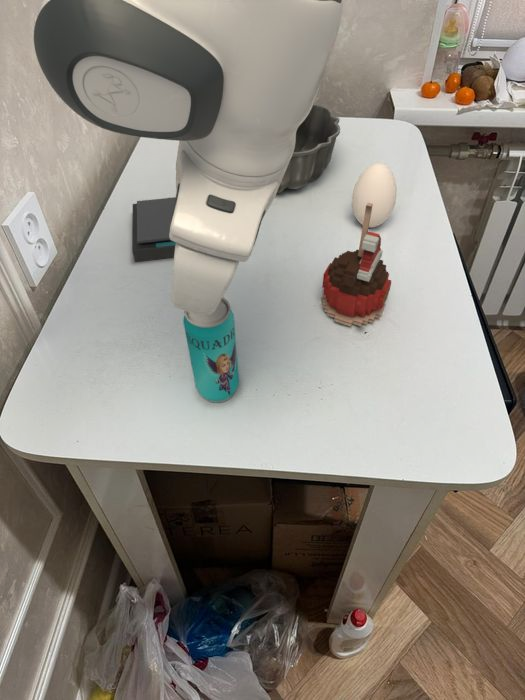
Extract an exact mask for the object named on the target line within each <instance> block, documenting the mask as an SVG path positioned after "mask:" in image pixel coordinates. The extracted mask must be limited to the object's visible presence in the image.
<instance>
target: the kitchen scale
mask: <svg viewBox="0 0 525 700" xmlns="http://www.w3.org/2000/svg"><path fill="white" fill-rule="evenodd" d="M175 199H176V196H174V197H173V196H172V197H164V198H155V199H145V200H136V203H132V227H131V228H132V229H131V230H132V231H131V232H132V233H131V234H132V237H131V238H132V239H131V240H132V241H131V242H132V245H131V246H132V247H131V248H132V249H131V251H132V255H133V260H134V262H135V263H138V262H146V261H156V260H163V259H174V253H175V245H176V242H174V241H171V240H170V238H169V232H170V225H171V218H172V213H173V209H174V205H175Z"/></svg>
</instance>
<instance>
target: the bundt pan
mask: <svg viewBox="0 0 525 700" xmlns="http://www.w3.org/2000/svg"><path fill="white" fill-rule="evenodd" d="M340 120H341V119H340V117H339V116H336V115H334V114H333V111H332V110H331V108H329V107H327V106H325V105H323V104H318V103H315V102H314V104H313V106H312V109H311V111H310V113H309V114H308V116H307V117H306V119H305V120H304V121H303V122H302V123H301V124H300V126H299V127H298V129H297V132H296V143H295V148H294V152H293V155H292V157H291V159H290V162H289V164H288V167H287V169H286V172H285V174H284V176H283V179H282V181H281V183H280V186H279V188H278V191H277V193H278V194H281V192H283V191H284V190H285V189H290V190H296V189H300V188H302V187H304V186H305V185H306V184H311V183H314V182H316V181H317V180H318V179H319V178H320V177H321V176H322V174H323V172H324V171H325V170H326V169H327V167H328V166H329V165H330V163H331V160H332V155H333V153H334V152H333V151H334V149H335V145H336V140H337V137H339V136H340V134H341V126H340V124H339V123H340Z"/></svg>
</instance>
